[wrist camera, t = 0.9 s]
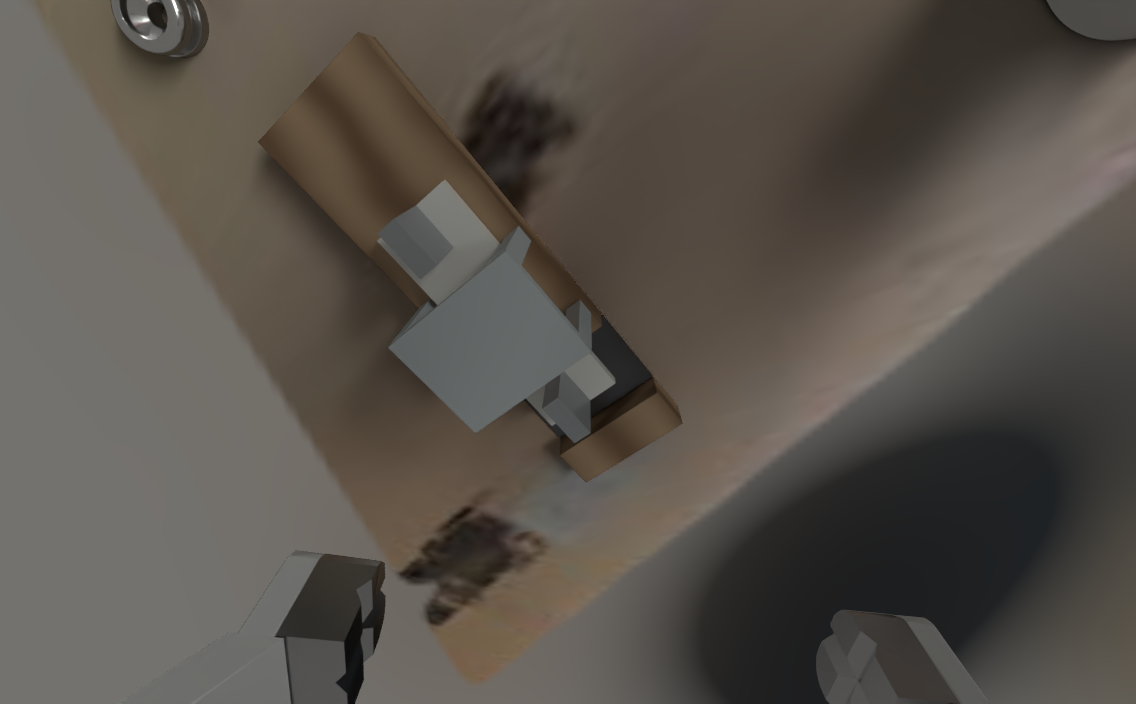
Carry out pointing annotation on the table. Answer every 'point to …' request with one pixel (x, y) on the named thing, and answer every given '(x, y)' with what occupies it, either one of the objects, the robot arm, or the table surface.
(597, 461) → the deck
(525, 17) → the table surface
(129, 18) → the grooved metal pulley
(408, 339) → the tunnel
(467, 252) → the sled
